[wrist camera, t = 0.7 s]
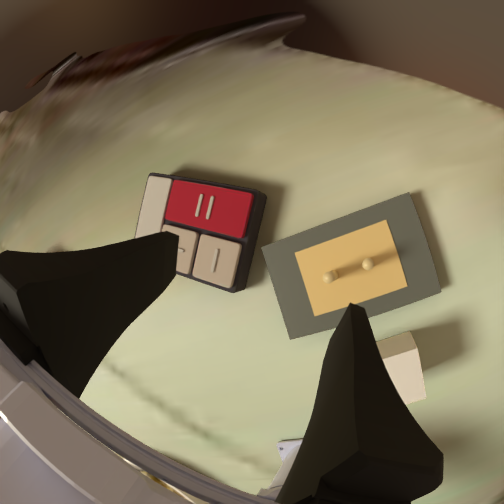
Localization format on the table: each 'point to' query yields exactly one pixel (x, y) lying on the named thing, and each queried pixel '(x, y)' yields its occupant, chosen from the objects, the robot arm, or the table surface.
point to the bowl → (168, 485)
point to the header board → (352, 266)
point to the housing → (403, 366)
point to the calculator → (205, 226)
